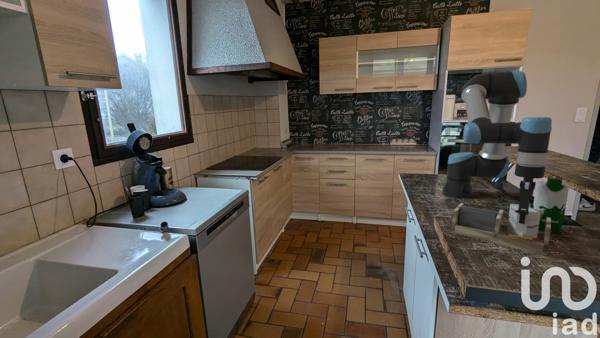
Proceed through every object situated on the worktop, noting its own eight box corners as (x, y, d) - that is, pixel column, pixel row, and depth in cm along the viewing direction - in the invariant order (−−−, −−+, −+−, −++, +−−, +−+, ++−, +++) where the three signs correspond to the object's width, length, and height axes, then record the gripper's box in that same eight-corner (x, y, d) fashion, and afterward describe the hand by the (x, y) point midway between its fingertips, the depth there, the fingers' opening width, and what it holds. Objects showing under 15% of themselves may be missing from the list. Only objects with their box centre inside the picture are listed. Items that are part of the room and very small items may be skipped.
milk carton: (533, 230, 104) (540, 179, 100) (528, 222, 112) (535, 174, 108) (564, 234, 100) (573, 181, 96) (557, 226, 107) (565, 176, 103)
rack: (459, 223, 112) (460, 202, 110) (546, 242, 94) (550, 217, 93) (451, 233, 103) (453, 210, 102) (546, 256, 86) (550, 229, 84)
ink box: (537, 246, 90) (542, 212, 88) (520, 245, 91) (525, 211, 88) (520, 234, 98) (525, 203, 96) (505, 234, 99) (509, 203, 97)
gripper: (518, 158, 101) (511, 213, 105) (512, 169, 83) (504, 234, 87) (546, 160, 96) (537, 217, 100) (545, 172, 78) (534, 241, 82)
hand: (522, 225), depth 93 cm, fingers open, 13 cm apart
